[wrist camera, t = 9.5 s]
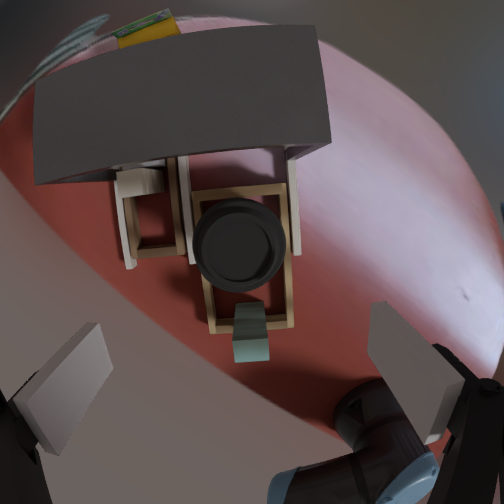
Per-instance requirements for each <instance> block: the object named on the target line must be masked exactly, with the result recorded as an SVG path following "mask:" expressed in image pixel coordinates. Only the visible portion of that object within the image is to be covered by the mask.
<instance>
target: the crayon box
mask: <svg viewBox="0 0 504 504" xmlns="http://www.w3.org/2000/svg"><path fill="white" fill-rule="evenodd" d="M151 18H154V20H152V21H149V22H147V23H146V24H145V25H143V26H138V27H135V28H133V29H129V28H130V27H132V26H134V25H136V24H138V23H139V22H141V21H146V20H148V19H151ZM112 34H113V35H114V36H115V37H116V38H117V41H118V45H119V49H120V48H124V47H127V46H131V45H135V44H138V43H142V42H146V41H151V40H155V39H160V38H164V37H169V36H174V35H179V34H181V32H180V30H179V28H178V26H177V24H176V21H175V19H174V17H173V16H172V15H171V12H170V10H169V9H165V10H162V11H160V12H157V13H155V14H152V15H150V16H147V17H145V18H142V19H140V20H138V21H135V22H133V23H131V24H128V25H127V26H124V27H122V28H120V29H118V30H116V31H113V32H112Z"/></svg>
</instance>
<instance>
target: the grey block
mask: <svg viewBox="0 0 504 504" xmlns="http://www.w3.org/2000/svg"><path fill="white" fill-rule="evenodd" d="M166 166H168V165H167V159H162V160H156V161H150V162H144V163H138V164H133V165H127V166H122V167H123V170H124V171H126V170H131V169H137V168H146V169H153V168H160V167H166Z"/></svg>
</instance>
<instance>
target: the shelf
mask: <svg viewBox="0 0 504 504" xmlns="http://www.w3.org/2000/svg"><path fill="white" fill-rule="evenodd" d="M330 143H332V141H331V131H330V122H329V113H328V105H327V97H326V90H325V83H324V76H323V69H322V63H321V57H320V51H319V45H318V40H317V35H316V29H315V26H313V25H258V26H242V27H230V28H220V29H212V30H204V31H197V32H191V33H185V34H179V35H174V36H169V37H164V38H160V39H155V40H151V41H146V42H142V43H138V44H135V45H131V46H127V47H124V48H120V49H117V50H114V51H110V52H107V53H104V54H101V55H98V56H95V57H92V58H89V59H87V60H84V61H81V62H79V63H76V64H73V65H71V66H68V67H66V68H63V69H61V70H59V71H56V72H54V73H52V74H50V75H47V76H45V77H43V78H41V79H39V80H37V81H36V82H35V93H34V110H33V164H34V180H35V185H46V184H61V183H81V182H108V181H117V175H116V172H120V171H119V169H112V168H117V167H122V166H127V165H133V164H138V163H144V162H150V161H156V160H162V159H168V158H175V157H182V156H189V155H197V154H205V153H214V152H223V151H233V150H244V149H256V148H270V147H287V146H289V147H288V148H287V149H286V150H287V151H286V150H285V161H286V152H287V161H288V160H296V159H298V158H300V157H303V156H305V155H307V154H309V153H311V152H313V151H315V150H317V149H319V148H321V147H324V146H326V145H328V144H330Z"/></svg>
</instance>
